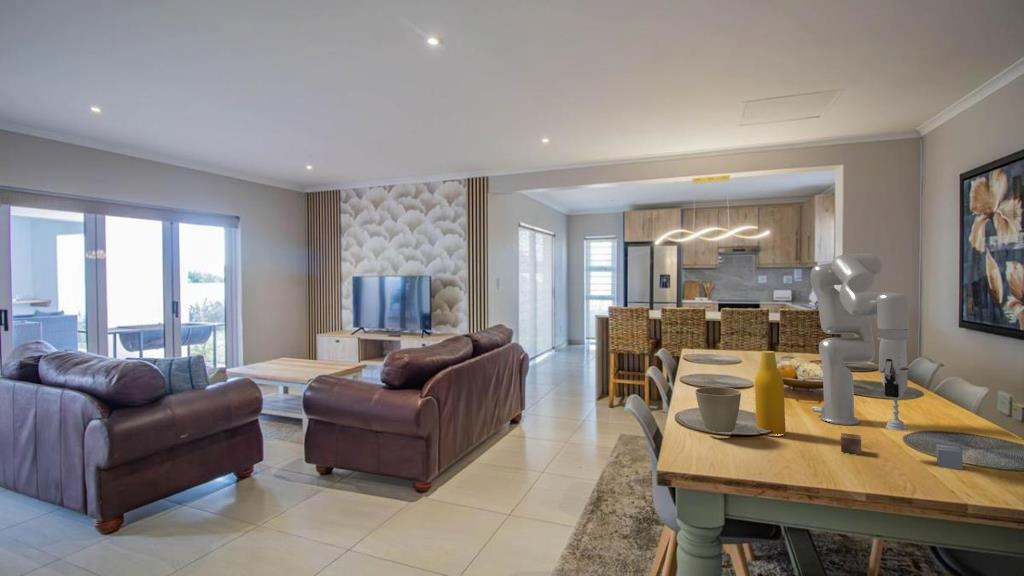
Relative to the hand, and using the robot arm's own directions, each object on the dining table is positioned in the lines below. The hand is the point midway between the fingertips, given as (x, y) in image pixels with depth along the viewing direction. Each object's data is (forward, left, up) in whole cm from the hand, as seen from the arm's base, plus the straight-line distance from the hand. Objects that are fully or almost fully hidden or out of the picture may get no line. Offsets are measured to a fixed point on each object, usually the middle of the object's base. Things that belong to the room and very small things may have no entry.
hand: (895, 394), depth 143 cm
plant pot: (-47, -16, -19) cm, 53 cm away
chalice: (0, 0, -10) cm, 10 cm away
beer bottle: (-36, -1, -19) cm, 41 cm away
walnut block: (-11, -3, -19) cm, 22 cm away
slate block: (+11, +3, -19) cm, 22 cm away
